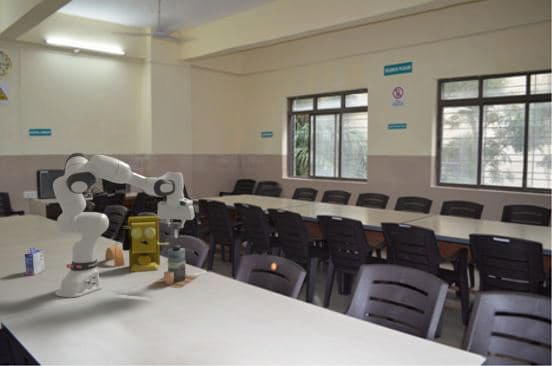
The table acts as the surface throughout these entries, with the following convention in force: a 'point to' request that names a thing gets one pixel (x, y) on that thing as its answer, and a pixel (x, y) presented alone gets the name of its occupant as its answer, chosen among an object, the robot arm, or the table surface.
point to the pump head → (175, 228)
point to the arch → (111, 255)
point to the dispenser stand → (176, 268)
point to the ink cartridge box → (34, 262)
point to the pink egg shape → (169, 278)
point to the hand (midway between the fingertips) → (175, 227)
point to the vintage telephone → (142, 243)
